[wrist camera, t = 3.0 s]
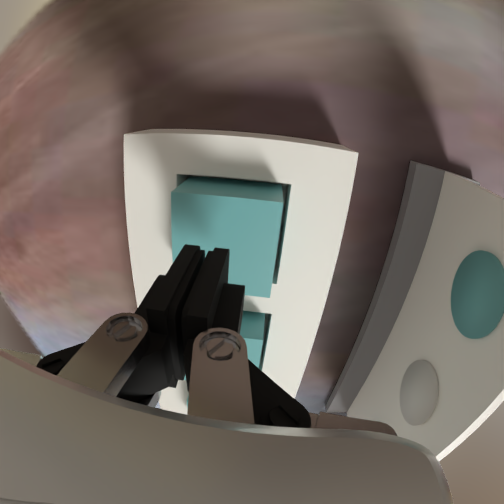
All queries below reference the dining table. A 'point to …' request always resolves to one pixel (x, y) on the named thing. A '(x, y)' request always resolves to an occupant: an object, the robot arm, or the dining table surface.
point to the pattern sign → (433, 317)
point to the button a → (231, 226)
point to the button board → (290, 236)
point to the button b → (252, 334)
